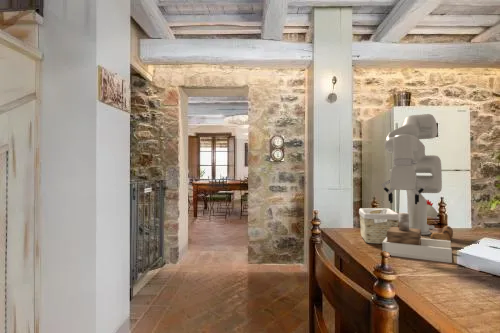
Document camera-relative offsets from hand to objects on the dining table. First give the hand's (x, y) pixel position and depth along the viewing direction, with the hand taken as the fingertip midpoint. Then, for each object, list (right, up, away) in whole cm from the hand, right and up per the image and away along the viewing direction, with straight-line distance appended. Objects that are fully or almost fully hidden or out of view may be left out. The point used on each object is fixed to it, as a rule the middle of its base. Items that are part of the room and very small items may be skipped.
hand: (403, 203), depth 136 cm
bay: (+5, -21, -2) cm, 22 cm away
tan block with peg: (0, -19, 0) cm, 20 cm away
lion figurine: (+21, -21, +9) cm, 31 cm away
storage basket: (-1, -21, +25) cm, 33 cm away
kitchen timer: (+50, -21, +70) cm, 89 cm away
